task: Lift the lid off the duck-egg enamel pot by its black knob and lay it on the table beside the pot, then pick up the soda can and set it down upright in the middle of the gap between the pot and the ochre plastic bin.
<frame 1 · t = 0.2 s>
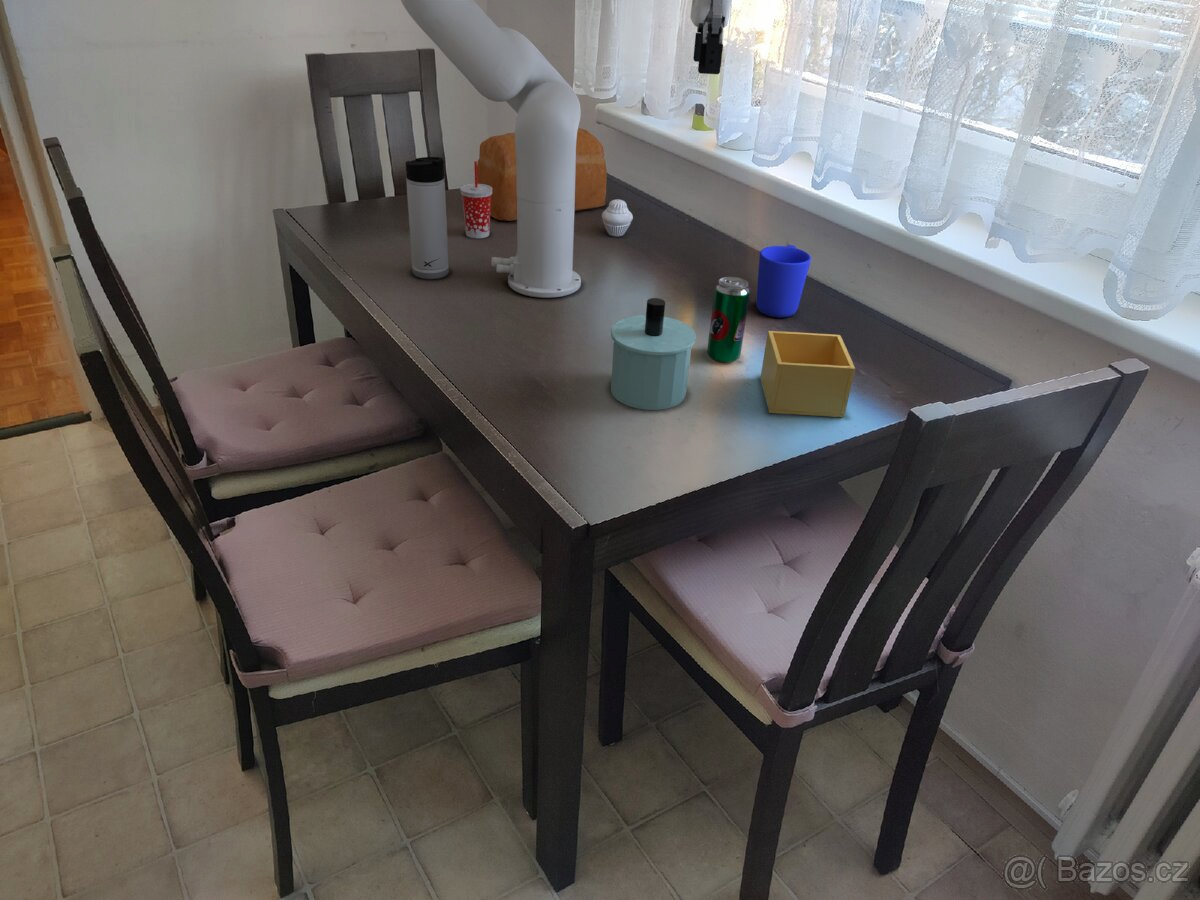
hand: (706, 67, 135), 37 cm above the table, tool pointing down, fingers open, 9 cm apart
soda can: (722, 358, 135), on the table
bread: (542, 208, 190), on the table
beverage cup: (477, 235, 174), on the table
pot lid: (653, 336, 120), point 8 cm above the table, touching pot
muffin: (616, 234, 178), on the table
bin: (800, 396, 125), on the table
mug: (777, 308, 152), on the table
pot: (648, 391, 125), on the table
travel mug: (431, 274, 157), on the table
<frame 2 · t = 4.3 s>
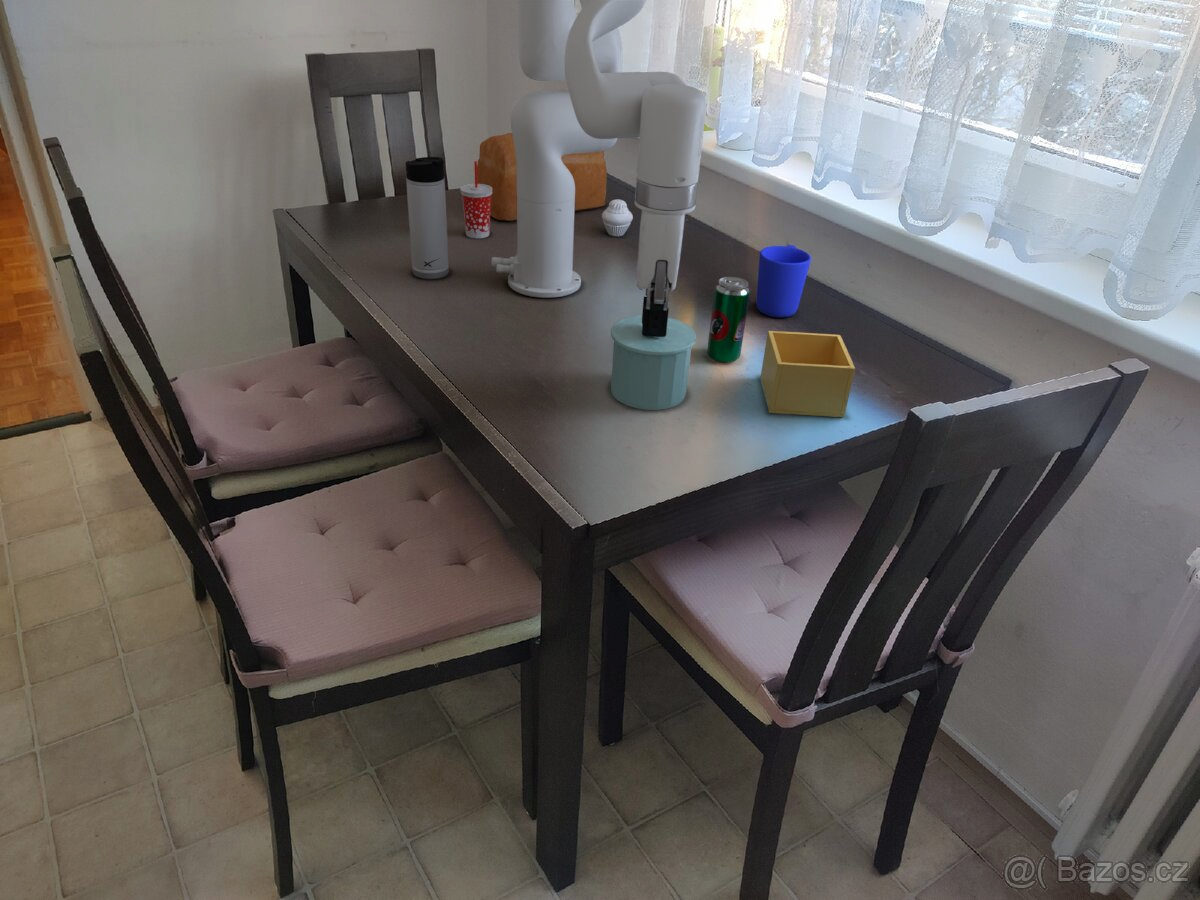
hand: (653, 329, 119), 9 cm above the table, tool pointing down, fingers closed on pot lid, 2 cm apart
pot lid: (653, 335, 120), point 9 cm above the table, touching gripper, pot
everything else where it was.
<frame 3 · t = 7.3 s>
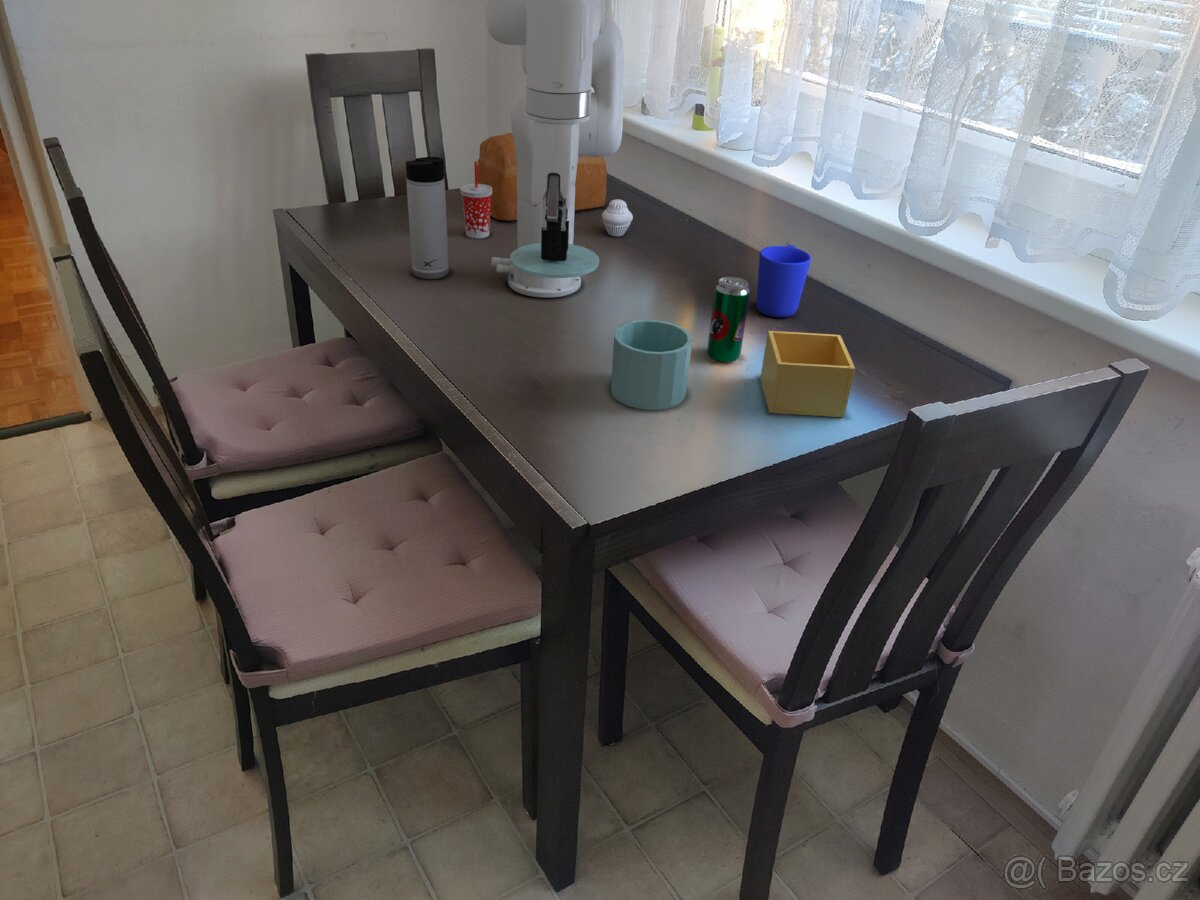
hand: (554, 254, 114), 19 cm above the table, tool pointing down, fingers closed on pot lid, 2 cm apart
pot lid: (554, 261, 115), point 18 cm above the table, touching gripper
everything else where it was.
when the fingers open (2 cm above the table, at t = 10.6 s): pot lid stays where it is, point 1 cm above the table.
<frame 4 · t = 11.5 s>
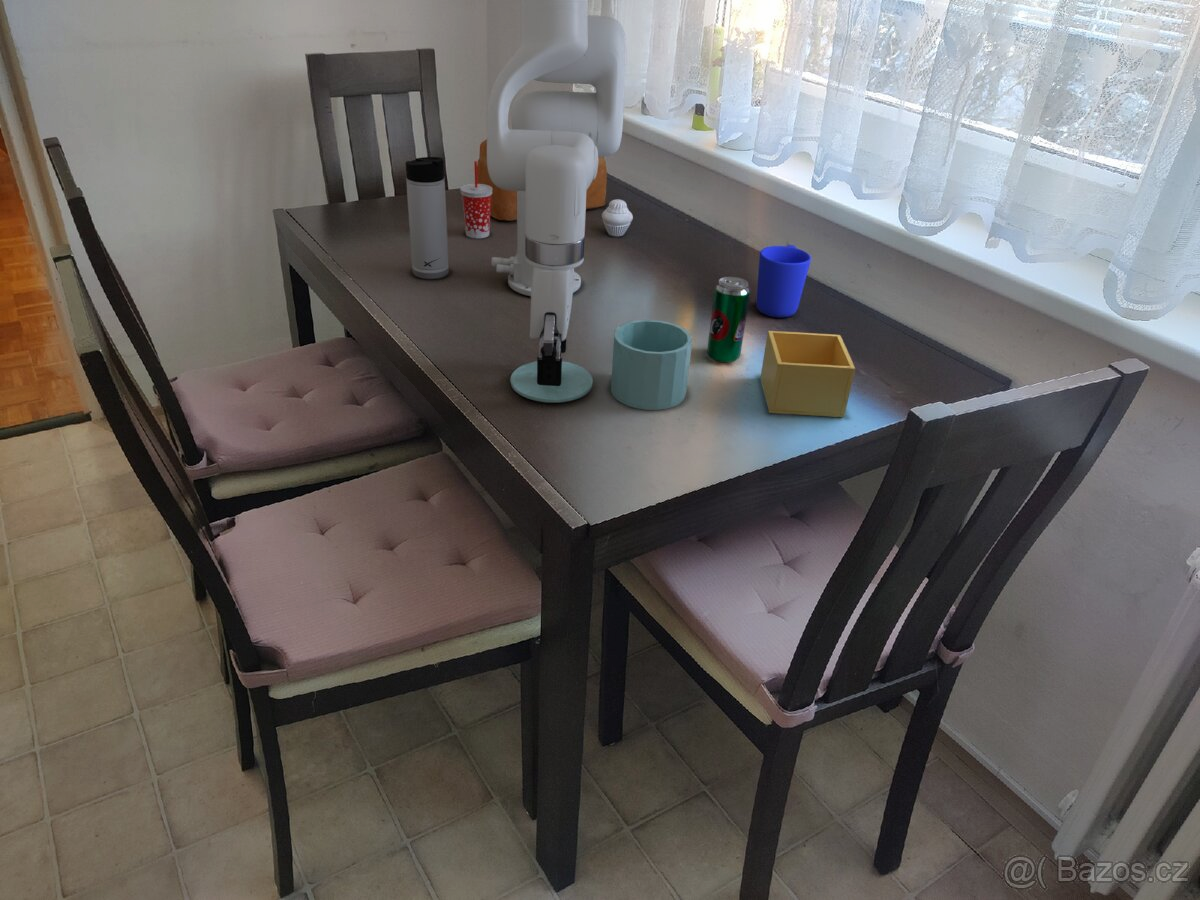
hand: (551, 367, 123), 3 cm above the table, tool pointing down, fingers open, 9 cm apart
pot lid: (551, 382, 124), point 1 cm above the table
everything else where it was.
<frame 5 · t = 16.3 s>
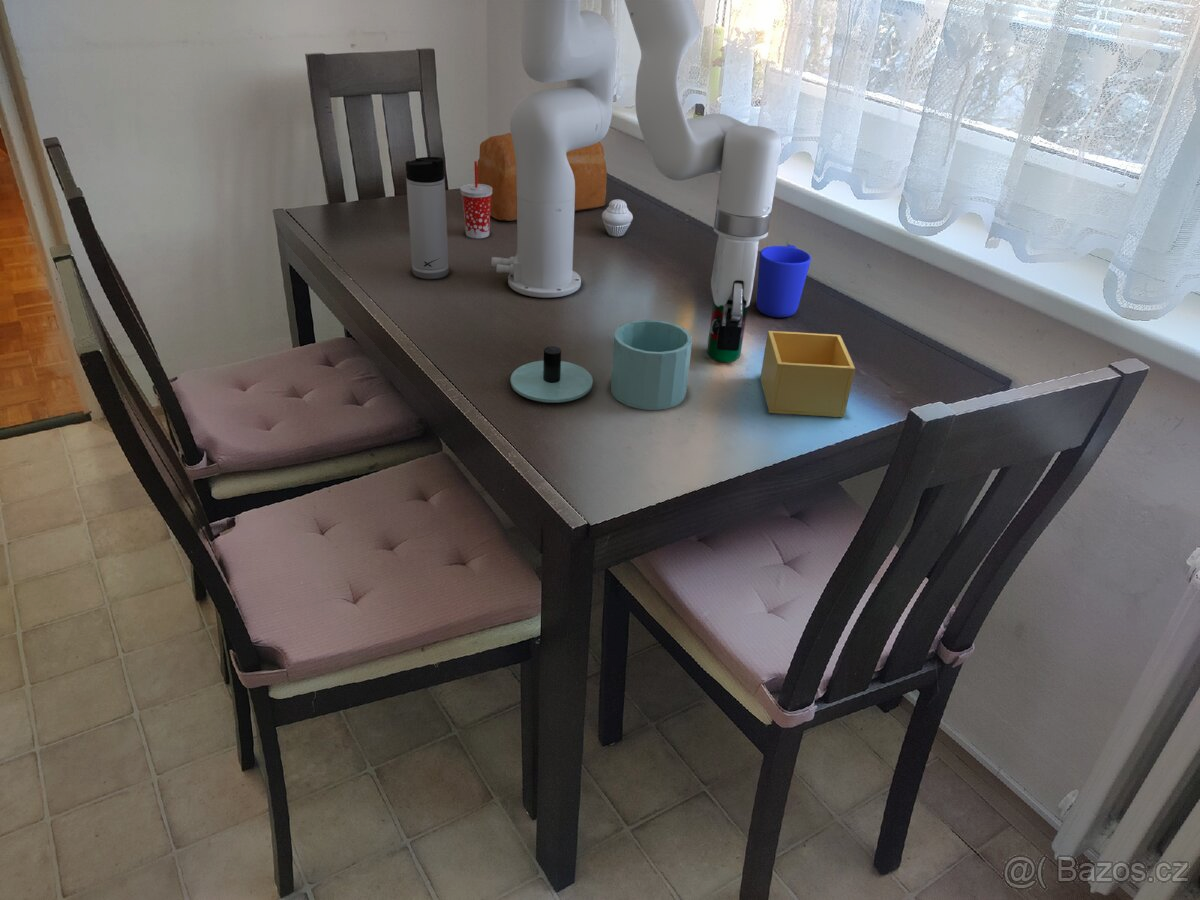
hand: (725, 339, 133), 3 cm above the table, tool pointing down, fingers closed on soda can, 5 cm apart
soda can: (722, 358, 135), on the table, touching gripper
everything else where it was.
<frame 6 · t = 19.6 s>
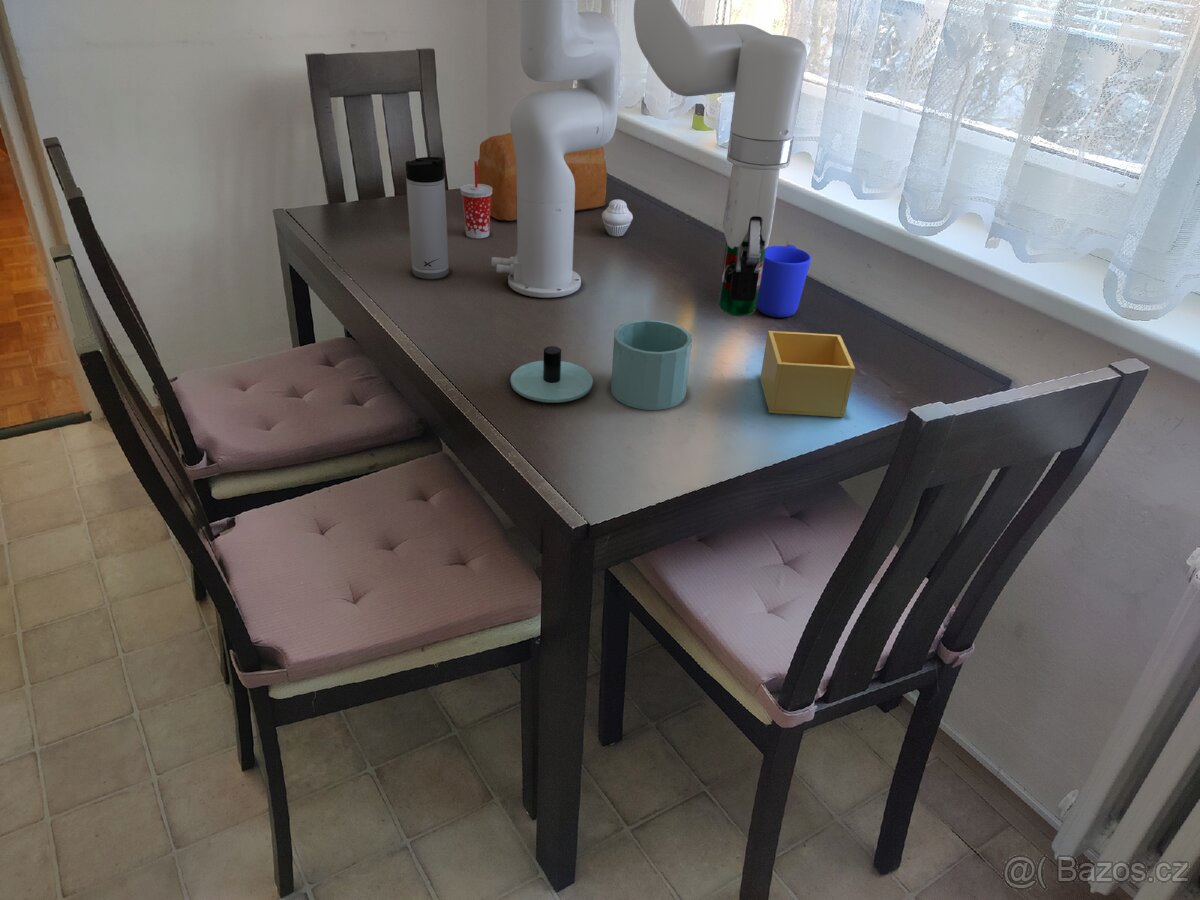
hand: (739, 289, 117), 16 cm above the table, tool pointing down, fingers closed on soda can, 5 cm apart
soda can: (736, 311, 118), point 12 cm above the table, touching gripper
everything else where it was.
when the fingers open (3 cm above the table, at t = 22.8 s): soda can stays where it is, on the table.
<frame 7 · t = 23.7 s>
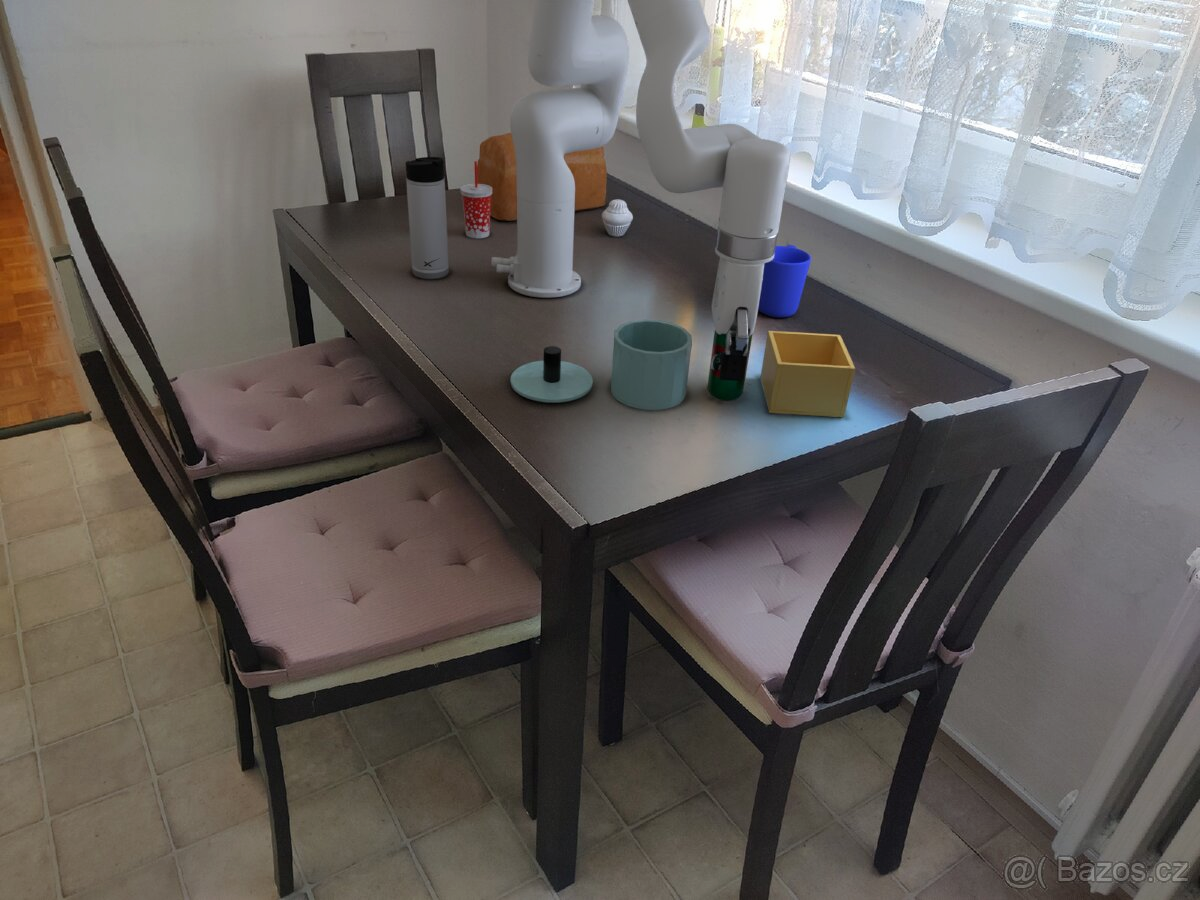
hand: (727, 362, 122), 5 cm above the table, tool pointing down, fingers open, 9 cm apart
soda can: (724, 395, 125), on the table
everything else where it was.
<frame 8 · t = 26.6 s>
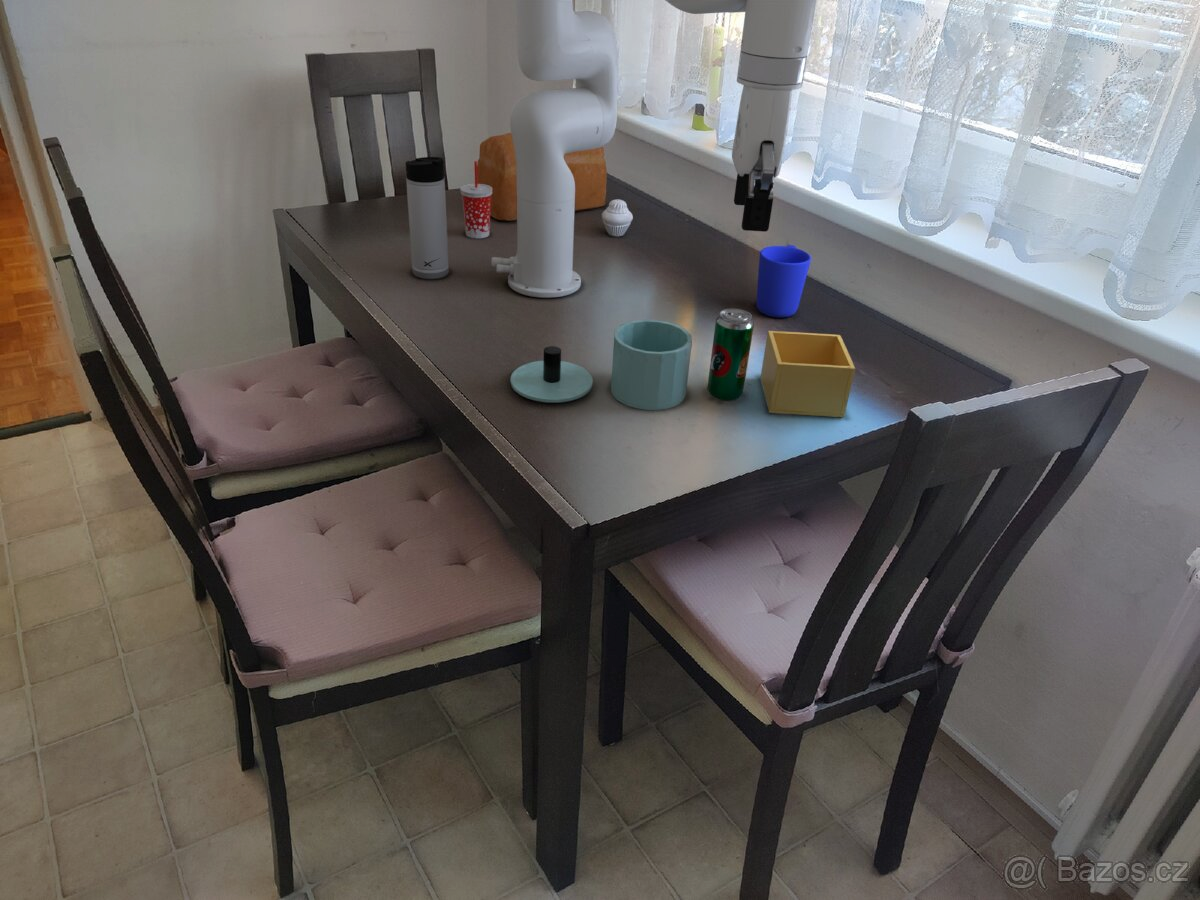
hand: (750, 217, 111), 25 cm above the table, tool pointing down, fingers open, 9 cm apart
nothing on the table moved.
at the end: pot lid inside the target area (0.1 cm from its centre), point 0.6 cm above the table; soda can 0.1 cm from the target spot, on the table; soda can tilted 0° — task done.
